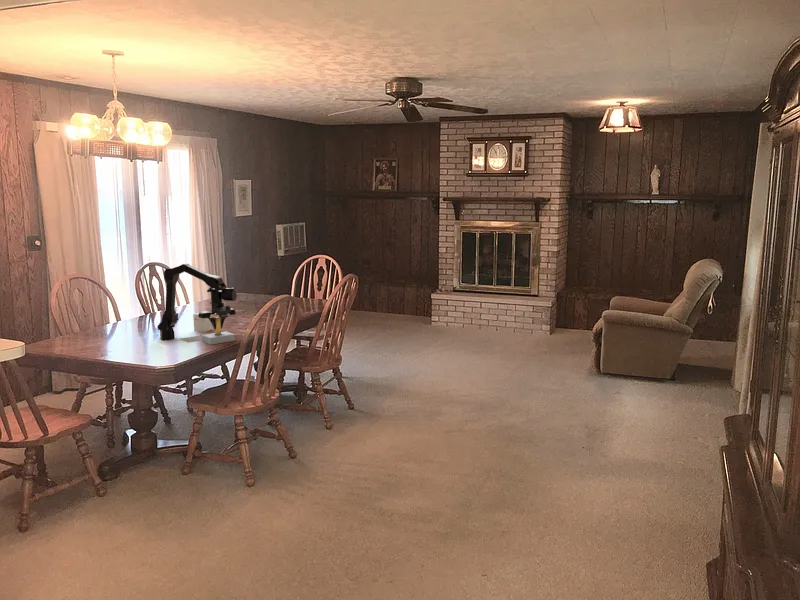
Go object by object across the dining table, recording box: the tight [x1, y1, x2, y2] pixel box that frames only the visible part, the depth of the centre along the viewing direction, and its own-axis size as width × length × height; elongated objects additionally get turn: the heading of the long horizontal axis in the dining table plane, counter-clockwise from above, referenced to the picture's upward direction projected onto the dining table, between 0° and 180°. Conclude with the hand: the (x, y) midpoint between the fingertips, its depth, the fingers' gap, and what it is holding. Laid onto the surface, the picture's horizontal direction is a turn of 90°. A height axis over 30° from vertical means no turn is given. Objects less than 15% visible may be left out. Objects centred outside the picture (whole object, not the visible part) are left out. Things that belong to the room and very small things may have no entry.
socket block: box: [201, 330, 236, 345], centre depth 355 cm, size 14×10×4 cm
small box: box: [192, 312, 212, 333], centre depth 381 cm, size 8×6×10 cm
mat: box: [179, 334, 203, 343], centre depth 360 cm, size 14×12×1 cm
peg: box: [214, 316, 222, 334], centre depth 354 cm, size 3×3×9 cm
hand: (217, 329), depth 354 cm, fingers closed on peg, 3 cm apart
